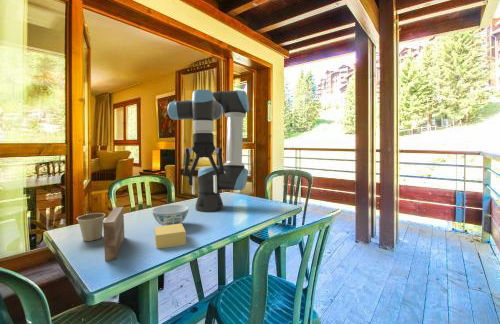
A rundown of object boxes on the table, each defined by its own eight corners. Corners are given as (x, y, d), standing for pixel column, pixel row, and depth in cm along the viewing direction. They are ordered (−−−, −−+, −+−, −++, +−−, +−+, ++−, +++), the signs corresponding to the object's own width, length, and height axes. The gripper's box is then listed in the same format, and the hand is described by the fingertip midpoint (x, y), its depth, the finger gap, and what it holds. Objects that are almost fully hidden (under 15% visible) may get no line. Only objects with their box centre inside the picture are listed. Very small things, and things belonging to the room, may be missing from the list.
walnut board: (124, 237, 101) (123, 206, 100) (115, 259, 82) (114, 221, 81) (115, 238, 100) (114, 207, 99) (105, 260, 81) (103, 222, 80)
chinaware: (185, 231, 107) (185, 213, 106) (148, 232, 106) (147, 214, 105) (191, 220, 122) (191, 204, 121) (158, 221, 121) (157, 205, 120)
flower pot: (75, 244, 94) (73, 221, 93) (80, 236, 102) (79, 214, 101) (105, 240, 97) (104, 218, 97) (107, 232, 106) (106, 211, 105)
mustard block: (181, 235, 103) (181, 223, 102) (186, 245, 94) (185, 231, 93) (155, 239, 99) (154, 226, 99) (156, 249, 90) (155, 235, 89)
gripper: (227, 133, 104) (228, 189, 106) (174, 132, 98) (176, 193, 99) (232, 132, 97) (233, 193, 99) (175, 132, 91) (177, 197, 92)
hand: (204, 193), depth 99 cm, fingers open, 8 cm apart
